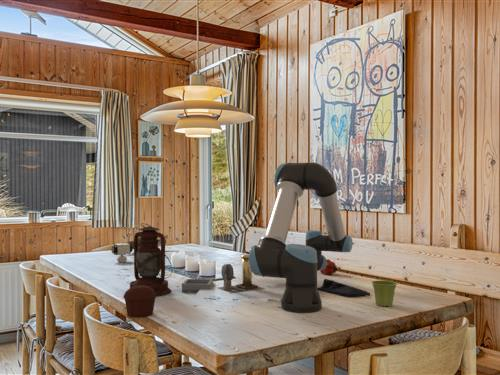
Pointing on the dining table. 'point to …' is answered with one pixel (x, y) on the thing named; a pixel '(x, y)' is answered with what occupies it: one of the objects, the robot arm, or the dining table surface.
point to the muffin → (140, 301)
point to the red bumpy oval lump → (329, 268)
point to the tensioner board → (228, 276)
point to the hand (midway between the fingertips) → (259, 269)
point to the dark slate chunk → (341, 289)
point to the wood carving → (140, 239)
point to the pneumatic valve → (121, 251)
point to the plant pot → (384, 292)
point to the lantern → (150, 261)
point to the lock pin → (246, 271)
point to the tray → (196, 284)
